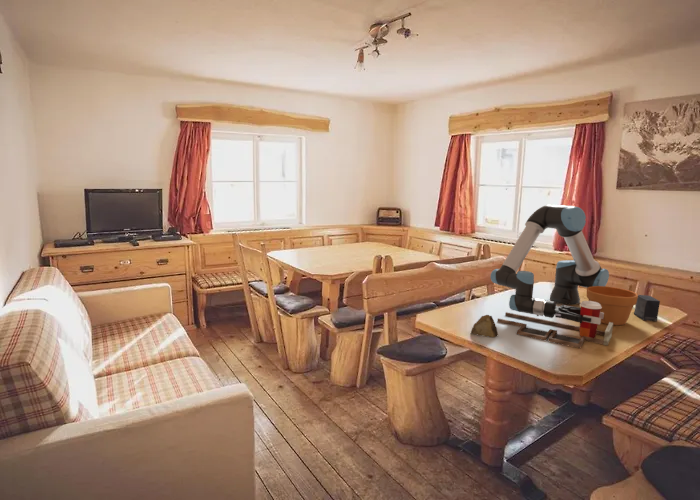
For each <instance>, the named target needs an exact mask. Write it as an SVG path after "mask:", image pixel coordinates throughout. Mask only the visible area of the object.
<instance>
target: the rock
mask: <svg viewBox="0 0 700 500" xmlns="http://www.w3.org/2000/svg"><path fill="white" fill-rule="evenodd" d="M471 328H472V329H471V331H470V334H471V333H473V334H472V335H476V334H478V336H482V335H484V336H483V337H487V336H489V338H495V337H498V336H499V334H498V333H499V332H498V328H497V326H496V323H495V320H494V318H493V316H492V315H489V314H486V315H482V316H481V317H480V318H479V319H478V320H477V321H476V322H475V323H474V324H473V326H472V327H471ZM497 335H498V336H497Z"/></svg>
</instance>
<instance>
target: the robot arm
mask: <svg viewBox="0 0 700 500" xmlns="http://www.w3.org/2000/svg"><path fill="white" fill-rule="evenodd" d="M586 219H587V217H586V214H585V211H584V210H583V209H582V208H581V207H579V206H574V205H561V204H560V205H559V204H546V205H543V206H541V207H539V208H537V209H536V210H535V211H533V213H532V214H531V215H530V216H529V217H528V219H527V220H526V221H525V223H524V226H525V227H524V229H523V231H522V232H521V234H520V235H519V237H518V239H517V240H516V242H515V243H514V245H513V247H512V248H511V250H510V251H509V253H508V255H507V256H506V258H505V260H504V261H503V263H502V264H501V266H500V268H495V269H493V270H491V273H490V281H491V282H492V283H493V284H495V285H498V286H502V287H506V288H509V289H513V290H515V291H514V292H515V293H514V294H511V296H510V297H509V300H508V301H509V303H508V307H509V309H510V310H511V311H514V312H519V313H524V314H530V315H536V317H539V316H541V317H543V316H544V317H545V318H550V319H553V318H554V317H555V318H559V319H564V320H566V321H572V322H576V323H579V324H580V323H582V321H583V322H589V323H594V324H598V326H599V325H601V324H602V323H601V319H603V316H604V313H602V312H600V315H599V318H598V317H593V316H587V315H583V316H582V315H580V312H581V306H580V307H579V306H571V305H578V304H579V305H580V304H581V297H580V293H579V290H578V288H579V287H582V288H586V289H587V288H588V287H592V286H606V287H607V284H608V281H609V278H610V272H609V269H606V268H602V267H601V264H600V262H599V261H598V260H595V259H594V256H593V254H592V252H591V249H590V247H589V245H588V242H587V240H586V237H585V234H584V233H583V231H584V228H585V226H586V223H587V220H586ZM546 229H554V230H556V232H557V233H558V235H559V236H560V237H561V238H564V241H565V243H566V245H567V248H568V250H569V252H570V254H571V257H572V258H573V259H570V260H569V259H567V260H566V259H565V260H558V261H557V263H556V267H555V276H554V285H553V286H554V287H553V288H552V291H551V293H550V296H549V300H546V299H541V298H535V297H533V295H534V294H533V293H534V285H535V284H534V283H535V274H534V273H533V272H532V271H528V270H519V269H520V267H521V265H522V263H523V262H524V260H525V259H526V257H527V255H528V254H529V252H530V250H531V249H532V247H533V245H534V244H535V242H536V241H537V239H538V237H540V235H541V234H544V232H545V230H546ZM518 270H519V271H518ZM557 304H562V305H560V306H557Z"/></svg>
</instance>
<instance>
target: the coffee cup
mask: <svg viewBox="0 0 700 500" xmlns="http://www.w3.org/2000/svg"><path fill="white" fill-rule="evenodd" d="M579 306H580V308H581V312H580V315H582V316H583V315H587V316H593V317H598V318H599V315H600V310H601V308H602V307H601V305H600V304H599V303H597V302H593V301H589V300H582V301H580V303H579ZM598 326H599V324H594V323H589V322H583V321H582V323H580V322H579V327H580V331H579V336H580V337H582V336H586V337H591V338H595V339H596V336H597V334H596V331H597V330H598Z"/></svg>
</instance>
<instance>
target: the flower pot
mask: <svg viewBox="0 0 700 500" xmlns="http://www.w3.org/2000/svg"><path fill="white" fill-rule="evenodd" d="M638 295H639V294H638V293H637V292H634V291H632V290H628V289H626V288H621V287H613V286H607V285H606V286H592V287H588V288H586V298H587V300H588V301H593V302H597V303H599V304H600V305H601V307H602V308H601V310H600V312H602V313H604V316H603V319H601V323H600V324H606V325H608V324H609V322H611V323H613V326H623V325H626V323H627V322H628V320H629V318H630V315H631V313H632V311H633V308H634V307H635V305H636V302H637V298H638Z"/></svg>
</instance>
